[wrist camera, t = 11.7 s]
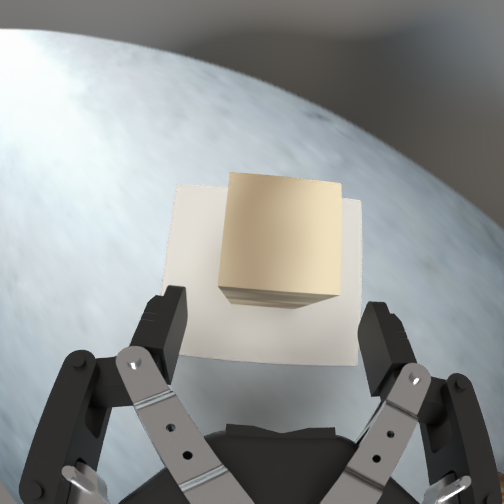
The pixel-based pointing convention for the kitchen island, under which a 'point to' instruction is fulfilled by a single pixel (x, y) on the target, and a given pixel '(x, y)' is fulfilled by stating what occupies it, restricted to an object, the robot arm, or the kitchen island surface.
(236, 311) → the felt mat
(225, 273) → the birch block
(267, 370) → the kitchen island surface
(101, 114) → the kitchen island surface
